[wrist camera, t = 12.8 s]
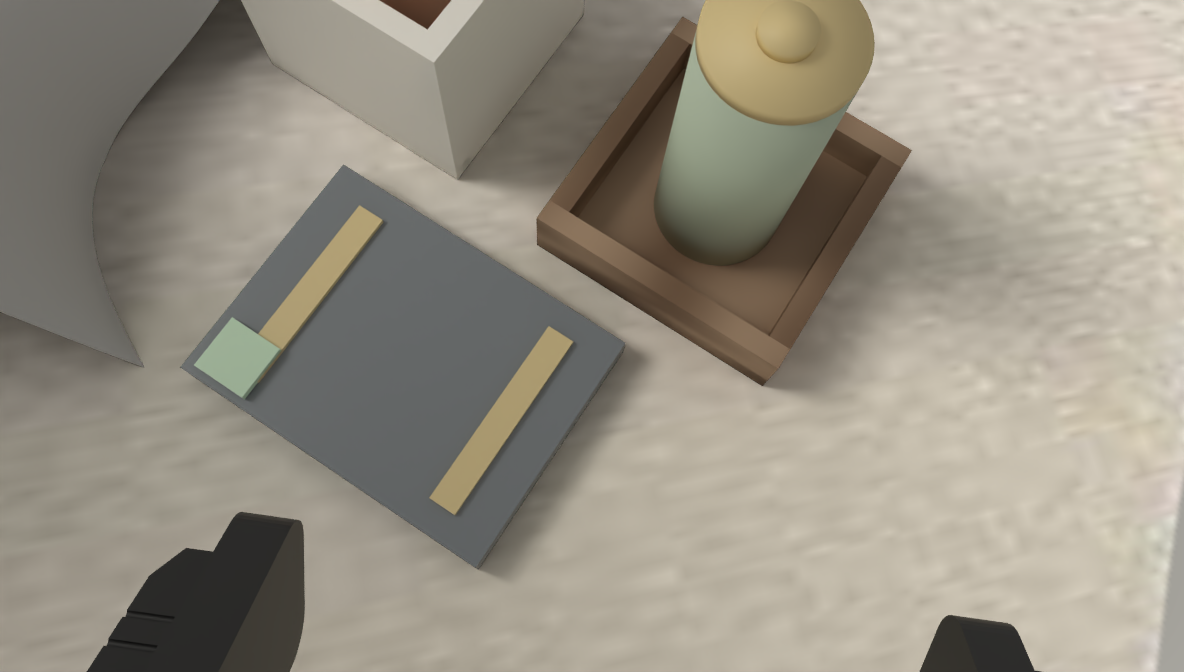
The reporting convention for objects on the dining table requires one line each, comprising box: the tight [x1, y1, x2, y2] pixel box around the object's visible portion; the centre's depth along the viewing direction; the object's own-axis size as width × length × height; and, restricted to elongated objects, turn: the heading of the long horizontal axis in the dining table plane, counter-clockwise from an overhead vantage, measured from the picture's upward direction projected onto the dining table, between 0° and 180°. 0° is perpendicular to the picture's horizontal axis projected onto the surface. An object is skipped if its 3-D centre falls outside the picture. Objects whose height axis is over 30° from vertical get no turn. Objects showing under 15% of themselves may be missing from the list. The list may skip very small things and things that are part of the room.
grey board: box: [180, 165, 625, 569], centre depth 34 cm, size 12×9×2 cm
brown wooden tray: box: [537, 17, 912, 386], centre depth 36 cm, size 10×10×2 cm
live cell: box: [654, 0, 874, 266], centre depth 30 cm, size 5×5×11 cm
